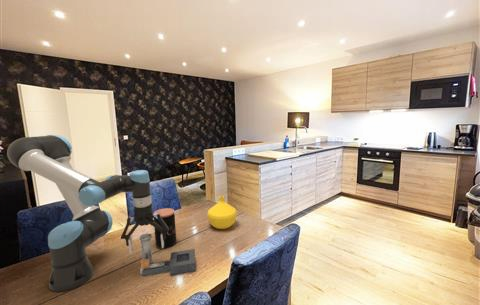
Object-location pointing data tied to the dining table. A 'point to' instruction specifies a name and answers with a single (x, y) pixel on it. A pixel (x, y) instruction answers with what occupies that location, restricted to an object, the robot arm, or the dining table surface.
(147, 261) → the bolt
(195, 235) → the dining table surface
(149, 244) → the peg
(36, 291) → the dining table surface
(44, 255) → the dining table surface
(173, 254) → the dock
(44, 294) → the dining table surface
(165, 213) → the coffee jar
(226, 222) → the vase
